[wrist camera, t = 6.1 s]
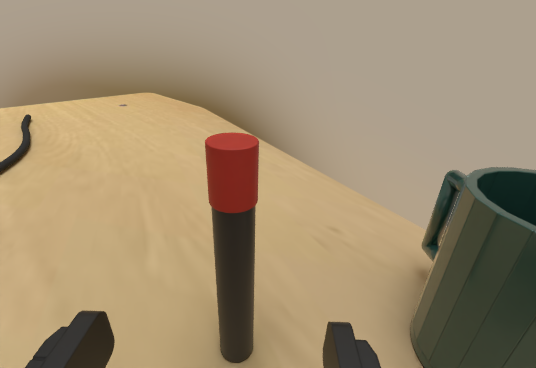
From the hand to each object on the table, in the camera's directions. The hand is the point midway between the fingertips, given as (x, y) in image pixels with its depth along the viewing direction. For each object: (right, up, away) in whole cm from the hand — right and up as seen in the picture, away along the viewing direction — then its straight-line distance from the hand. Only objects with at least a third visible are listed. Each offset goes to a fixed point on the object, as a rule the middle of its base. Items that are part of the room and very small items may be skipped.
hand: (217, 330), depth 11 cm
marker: (0, -5, +8) cm, 10 cm away
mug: (+16, -5, +10) cm, 19 cm away
